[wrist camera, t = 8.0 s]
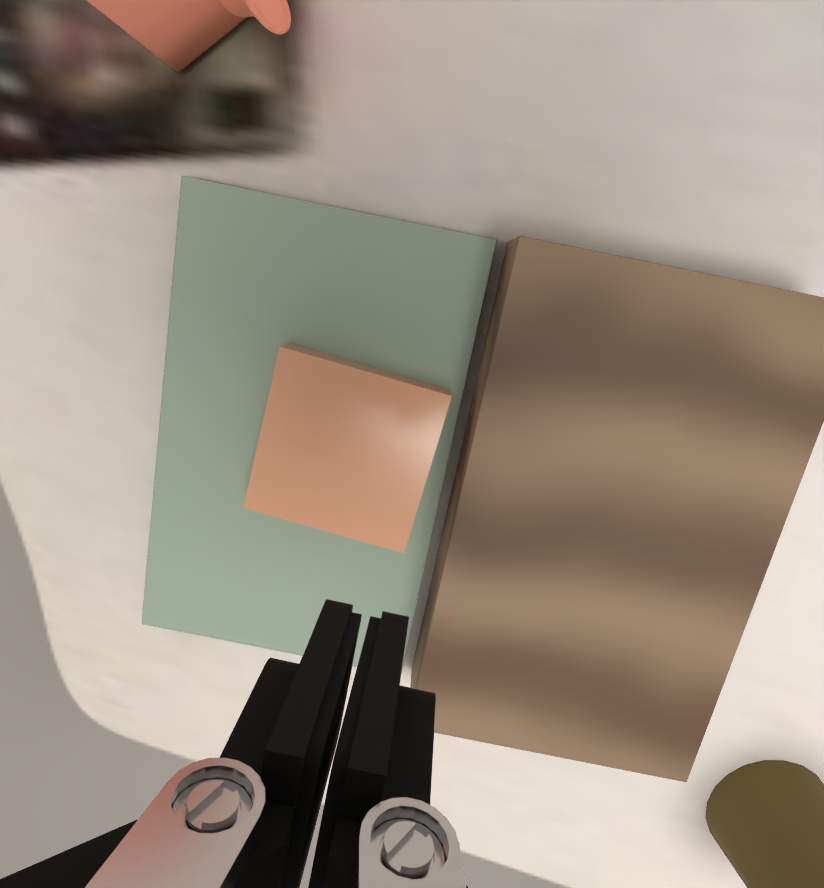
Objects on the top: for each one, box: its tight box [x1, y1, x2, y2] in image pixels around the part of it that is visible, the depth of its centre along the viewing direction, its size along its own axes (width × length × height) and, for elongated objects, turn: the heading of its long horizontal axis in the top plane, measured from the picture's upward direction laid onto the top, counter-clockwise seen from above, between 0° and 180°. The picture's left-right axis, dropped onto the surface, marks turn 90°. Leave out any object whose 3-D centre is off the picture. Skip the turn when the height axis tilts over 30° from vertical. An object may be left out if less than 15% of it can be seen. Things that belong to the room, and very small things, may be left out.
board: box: [410, 236, 824, 782], centre depth 25 cm, size 20×12×4 cm, turn 169°
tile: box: [243, 343, 452, 553], centre depth 26 cm, size 7×7×2 cm
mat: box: [142, 176, 497, 672], centre depth 27 cm, size 20×12×1 cm, turn 169°
